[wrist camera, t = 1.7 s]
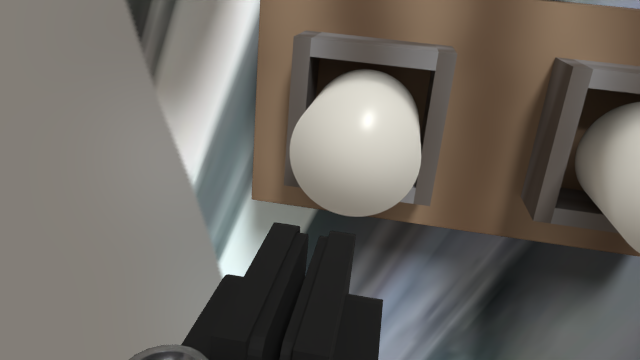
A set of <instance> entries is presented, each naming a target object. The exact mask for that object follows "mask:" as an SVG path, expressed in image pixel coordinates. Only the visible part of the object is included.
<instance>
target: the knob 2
mask: <svg viewBox="0 0 640 360" xmlns="http://www.w3.org/2000/svg"><path fill="white" fill-rule="evenodd" d="M575 172H576V176H577V179H578V181H579V183H580V185H581V187H582V188H583V190H584V191H585V192H586V193H587V195H588V196H589V197H590V198H591V199H592V201H593V202H594V203H595V204H596V205H597V207H598V208H599V209H600V210H601V211H602V213H603V214H604V215H605V216H606V218H607V219H608V220H609V221H610V222H611V224H612V225H613V226H614V227H615V228H616V230H617V231H618V232H619V233H620V234H621V236H622V237H623V238H624V239H625V240H626V242H627V243H628V244H629V245H630V246H631V247H632V248H633V249H635V250H636V251H637V252H639V253H640V102H635V103H629V104H626V105H622V106H619V107H617V108H615V109H612V110H611V111H609V112H607V113H605V114H604V115H602V116H601V117H600V118H598V119H597V120H596V121H595V122H594V123H593V124H592V125H591V126H590V127H589V128H588V129H587V131H586V132H585V134H584V135H583V136H582V138H581V140H580V142H579V145H578V147H577V150H576V155H575Z"/></svg>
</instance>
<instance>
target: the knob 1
mask: <svg viewBox="0 0 640 360" xmlns="http://www.w3.org/2000/svg"><path fill="white" fill-rule="evenodd" d="M290 162H291V167H292V171H293V173H294V176H295V178H296V180H297V182H298V184H299V185H300V187H301V188H302V190H303V191H304V192H305V193H306V194H307V196H308V197H309V198H310V199H312V200H313V201H314V202H315V203H317V204H318V205H320V206H321V207H323V208H325V209H327V210H329V211H331V212H334V213H337V214H340V215H345V216H353V217H362V216H370V215H374V214H378V213H381V212H383V211H385V210H388V209H389V208H391V207H393V206H394V205H396V204H397V203H398V202H400V201H401V200H402V199H403V198H404V197H405V196H406V195H407V194H408V192H409V191H410V190H411V188H412V187H413V185H414V183H415V181H416V179H417V176H418V174H419V170H420V166H421V142H420V126H419V114H418V109H417V106H416V103H415V101H414V99H413V97H412V95H411V94H410V92H409V91H408V89H407V88H406V87H405V86H404V85H403V84H402V83H401V82H400V81H398V80H397V79H395V78H394V77H392V76H390V75H388V74H386V73H383V72H380V71H376V70H369V69H361V70H354V71H349V72H347V73H344V74H342V75H340V76H338V77H336V78H335V79H333V80H332V81H331V82H330V83H328V84H327V85H326V86H325V88H324V89H323V90H322V91H321V92H320V94H319V95H318V96H317V97H316V99H315V100H314V101H313V102H312V104H311V105H310V106H309V107H308V109H307V110H306V111H305V112H304V114H303V115H302V116H301V118H300V119H299V121H298V122H297V124H296V126H295V128H294V131H293V134H292V137H291V142H290Z"/></svg>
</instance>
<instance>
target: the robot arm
mask: <svg viewBox="0 0 640 360" xmlns="http://www.w3.org/2000/svg"><path fill="white" fill-rule="evenodd" d="M355 236H356V235H355V234H348V233H341V232H335V231H330V234H329V237H324V236H320V237H319V240H318V242H317V245H316V248H315V251H314V254H313V257H312V259H311V262H310V265H309V268H308V271H307V274H306V277H305V271H306V260H307V249H308V234H304V233H300V226H295V225H289V224H282V223H274V224H273V225H272V227H271V229H270V231H269V233H268V234H267V236H266V238H265V240H264V242H263V243H262V245H261V247H260V249H259V250H258V252H257V254H256V256H255V258H254V259H253V261H252V263H251V265H250V267H249V268H248V270H247V272H246V274H245V276H244V277H241V276H235V275H229V274H228V275H225V277H224V278H223V279H222V281H221V282H220V284H219V286H218V287H217V289H216V290H215V292H214V293H213V295H212V297H211V298H210V300H209V302H208V303H207V305H206V307H205V308H204V309H203V311H202V313H201V314H200V316H199V317H198V319H197V321H196V322H195V324H194V325H193V327H192V328H191V330H190V332H189V333H188V335H187V337H186V338H185V340H184V342H183V343H182V344H181V345H161V346H157V347H152V348H148V349H146V350H144V351H142V352H140V353H138V354H136V355H134V356H133V357H132V358H130V359H129V360H378V354H379V342H380V330H381V318H382V306H383V300H381V299H375V298H369V297H363V296H357V295H351V294H348V293H349V285H350V277H351V269H352V261H353V253H354V246H355Z"/></svg>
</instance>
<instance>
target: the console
mask: <svg viewBox="0 0 640 360" xmlns="http://www.w3.org/2000/svg"><path fill="white" fill-rule="evenodd" d="M361 69H369V70H376V71H380V72H383V73H386V74H388V75H390V76H392V77H394V78H395V79H397V80H398V81H400V82H401V83H402V84H403V85H404V86H405V87H406V88H407V89H408V91H409V92H410V94H411V95H412V97H413V99H414V101H415V103H416V106H417V109H418V114H419V126H420V142H421V166H420V170H419V174H418V176H417V179H416V181H415V183H414V185H413V187H412V188H411V190H410V191H409V192H408V194H407V195H406V196H405V197H404V198H403V199H402V200H401V201H400V202H398V203H397V204H396V205H394V206H393V207H391V208H389V209H388V210H385V211H383V212H381V213H378V214H374V215H370V216H368V217H375V218H382V219H389V220H395V221H402V222H409V223H416V224H423V225H429V226H436V227H443V228H450V229H456V230H463V231H470V232H477V233H484V234H490V235H497V236H504V237H511V238H518V239H524V240H531V241H538V242H545V243H552V244H558V245H565V246H572V247H579V248H585V249H592V250H599V251H606V252H613V253H619V254H626V255H633V256H640V253H639V252H637V251H636V250H635V249H633V248H632V247H631V246H630V245H629V244H628V243H627V242H626V240H625V239H624V238H623V237H622V236H621V234H620V233H619V232H618V231H617V230H616V228H615V227H614V226H613V225H612V224H611V222H610V221H609V220H608V219H607V218H606V216H605V215H604V214H603V213H602V211H601V210H600V209H599V208H598V207H597V205H596V204H595V203H594V202H593V201H592V199H591V198H590V197H589V196H588V195H587V193H586V192H585V191H584V190H583V188H582V187H581V185H580V183H579V181H578V179H577V176H576V172H575V155H576V150H577V147H578V145H579V142H580V140H581V138H582V136H583V135H584V134H585V132H586V131H587V129H588V128H589V127H590V126H591V125H592V124H593V123H594V122H595V121H596V120H597V119H598V118H600V117H601V116H602V115H604V114H605V113H607V112H609V111H611V110H612V109H615V108H617V107H619V106H622V105H626V104H629V103H635V102H640V9H634V8H624V7H613V6H603V5H592V4H582V3H571V2H561V1H550V0H260V20H259V43H258V66H257V89H256V112H255V135H254V158H253V182H252V199H253V200H260V201H266V202H273V203H280V204H287V205H294V206H300V207H307V208H314V209H321V210H327V209H325V208H323V207H321V206H320V205H318V204H317V203H315V202H314V201H313V200H312V199H310V198H309V197H308V196H307V194H306V193H305V192H304V191H303V190H302V188H301V187H300V185H299V184H298V182H297V180H296V178H295V176H294V173H293V171H292V167H291V162H290V142H291V137H292V134H293V131H294V128H295V126H296V124H297V122H298V121H299V119H300V118H301V116H302V115H303V114H304V112H305V111H306V110H307V109H308V107H309V106H310V105H311V104H312V102H313V101H314V100H315V99H316V97H317V96H318V95H319V94H320V92H321V91H322V90H323V89H324V88H325V86H326V85H327V84H328V83H330V82H331V81H332V80H333V79H335V78H336V77H338V76H340V75H342V74H344V73H347V72H349V71H354V70H361ZM327 211H329V210H327Z"/></svg>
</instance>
